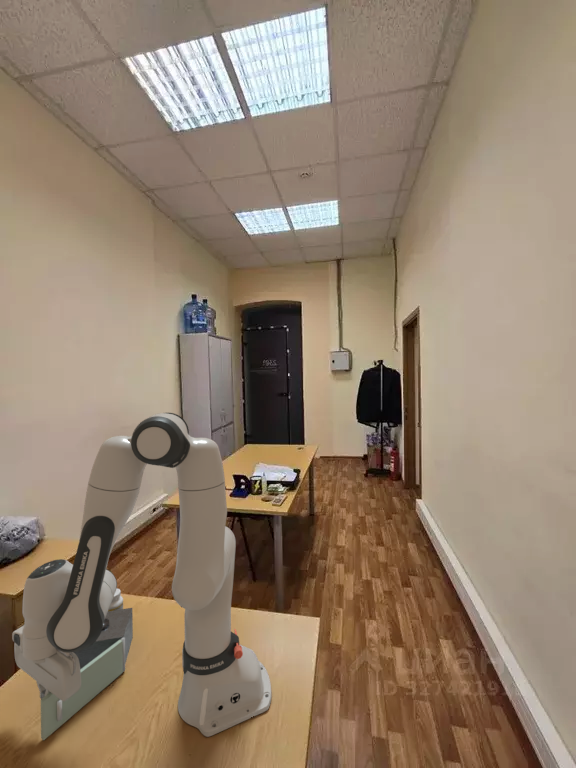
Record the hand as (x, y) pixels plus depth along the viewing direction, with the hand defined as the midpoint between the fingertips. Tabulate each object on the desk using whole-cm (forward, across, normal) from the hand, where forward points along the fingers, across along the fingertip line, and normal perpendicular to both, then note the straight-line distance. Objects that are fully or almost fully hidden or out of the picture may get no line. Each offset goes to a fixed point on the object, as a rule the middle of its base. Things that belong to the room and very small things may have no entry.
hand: (47, 698), depth 76 cm
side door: (+6, -3, -8) cm, 10 cm away
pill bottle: (+7, +16, -27) cm, 32 cm away
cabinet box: (+7, +8, -18) cm, 20 cm away
